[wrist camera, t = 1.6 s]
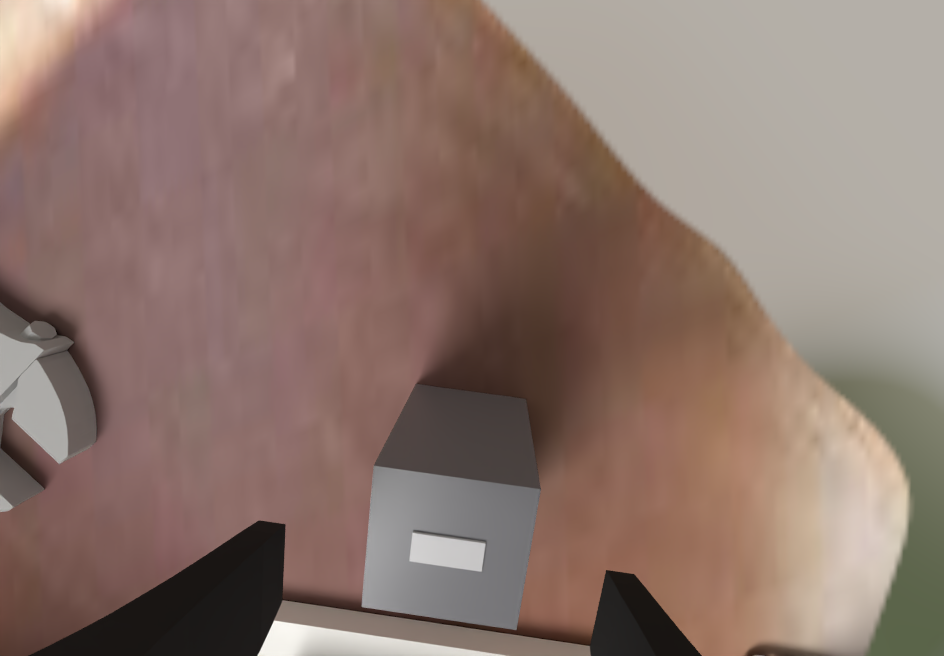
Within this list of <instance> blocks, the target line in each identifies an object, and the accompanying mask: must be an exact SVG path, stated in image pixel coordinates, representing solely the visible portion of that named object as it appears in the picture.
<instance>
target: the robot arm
mask: <svg viewBox="0 0 944 656" xmlns="http://www.w3.org/2000/svg"><path fill="white" fill-rule="evenodd" d="M284 548H285V524H279V523H272V522H265V521H257V522H256V523H254V524H253V525H251V526H249V527H248V528H246V529H245V530H243V531H242V532H240V533H239V534H237V535H236V536H234V537H233V538H231V539H230V540H228V541H227V542H225V543H224V544H222V545H221V546H219V547H218V548H216V549H215V550H213V551H212V552H210V553H209V554H207V555H206V556H204V557H203V558H201V559H199V560H198V561H196V562H195V563H193V564H192V565H190V566H189V567H187V568H186V569H184V570H182V571H181V572H179V573H178V574H176V575H175V576H173V577H172V578H170V579H168V580H167V581H165V582H163V583H162V584H160V585H158V586H157V587H155V588H153V589H151V590H150V591H148V592H146V593H145V594H143V595H141V596H140V597H138V598H136V599H135V600H133V601H131V602H130V603H128V604H126V605H125V606H123V607H121V608H120V609H118V610H116V611H114V612H113V613H111V614H109V615H107V616H105V617H104V618H102V619H100V620H98V621H96V622H94V623H92V624H91V625H89V626H87V627H85V628H83V629H81V630H79V631H77V632H75V633H73V634H71V635H69V636H67V637H65V638H64V639H62V640H60V641H58V642H56V643H54V644H52V645H50V646H48V647H46V648H44V649H42V650H40V651H37V652H35V653H33V654H31V655H29V656H257V655H258V654H259V652H260V650H261V648H262V646H263V644H264V641H265V639H266V637H267V635H268V633H269V631H270V629H271V626H272V624H273V622H274V619H275V617H276V615H277V613H278V610H279V608H280V606H281V603H282V595H283V571H284ZM590 653H591V656H702V655H701V654H700V653H699V652H698V651H697V650H696V648H695V647H694V646H693V645H692V644H691V643H690V641H689V640H688V639H687V638H686V637H685V635H684V634H683V633H682V632H681V631H680V630H679V628H678V627H677V626H676V625H675V623H674V622H673V621H672V620H671V619H670V617H669V616H668V615H667V614H666V613H665V611H664V610H663V609H662V608H661V606H660V605H659V604H658V603H657V601H656V600H655V599H654V598H653V597H652V595H651V594H650V593H649V592H648V590H647V589H646V588H645V587H644V585H643V584H642V583H641V582H640V581H639V579H638V578H637V577H636V576H635V575H634V574H629V573H622V572H615V571H608V570H606V574H605V579H604V583H603V588H602V592H601V597H600V602H599V606H598V611H597V616H596V620H595V625H594V630H593V634H592V639H591V644H590ZM754 656H763V655H754Z"/></svg>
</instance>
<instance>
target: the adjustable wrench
mask: <svg viewBox="0 0 944 656" xmlns="http://www.w3.org/2000/svg"><path fill="white" fill-rule="evenodd" d="M73 343H74V342H73V341H72V340H70V339H69V338H67V337H66V336H59V335H57V333H56V330H55V328H54V327H53V326H51V325H50V324H48V323H46V322H43V321H34V322H32V323H31V324H30V323H28V322H27V321H25V320H24V319H22V318H21V317H20V316H18V315H17V314H15V313H14V312H12V311H11V310H9V309H8V308H6V307H5V306H4V305H3V304H2V303H0V446H1V438H2V429H3V420H4V414H5V413H6V412H7V411H8V410H9V409H10V408H11V407H14V411H13V415H12V420H13V421H14V422H15V423H17V424H18V425H19V426H20V427H21V428H22V429H23V430H24V431H25V432H26V433H27V434H28V435H29V436H30V437H31V438H32V439H33V440H34V441H36V442H37V443H38V444H39V445H40V446H41V447H42V448H43V449H44V450H45V451H46V452H47V453H48V454H49V455H50V456H51V457H52V458H53V459H55V460H56V461H57V462H58V463H59V464H60V463H62V462H64V461H66V460H68V459H70V458H72V457H74V456H76V455H77V454H79V453H81V452H83V451H85V450H87V449H89V448H90V447H91V446H92V445H93V444H94V443H95V442H96V433H97V426H96V414H95V409H94V404H93V400H92V397H91V394H90V391H89V388H88V386H87V384H86V382H85V380H84V378H83V376H82V374H81V372H80V370H79V368H78V366H77V365H76V363H75V361H74V360H73V358H72V356H71V355H70V354H69V352H68V351H67V350H68V348H69V347H70V346H71V345H72V344H73ZM43 490H45V489H44V488H43V487H42V486H41V485H40V484H39V483H38V482H37V481H36V480H34V479H33V478H32V477H31V476H30V475H29V474H28V473H27V472H26V471H25V470H24V469H23V468H21V467H20V466H19V465H18V464H17V463H16V462H15V461H14V460H13V459H12V458H11V457H9V456H8V455H7V454H6V453H5V452H4V451H3V450H2V449H1V448H0V512H4V511H8V510H10V509H12V508H14V507H15V506H17V505H19V504H21V503H22V502H24V501H26V500H28V499H29V498H31V497H33V496H35V495H36V494H38V493H40V492H42V491H43Z"/></svg>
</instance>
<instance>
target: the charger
mask: <svg viewBox="0 0 944 656" xmlns="http://www.w3.org/2000/svg"><path fill="white" fill-rule="evenodd" d="M540 491H541V488H540V482H539V476H538V469H537V463H536V457H535V451H534V445H533V439H532V433H531V427H530V421H529V414H528V408H527V402H526V399H523V398H516V397H509V396H501V395H494V394H487V393H479V392H472V391H465V390H457V389H450V388H443V387H435V386H428V385H421V384H416V385H415V387H414V389H413V391H412V393H411V395H410V397H409V399H408V400H407V402H406V404H405V406H404V408H403V410H402V412H401V414H400V416H399V418H398V420H397V422H396V424H395V426H394V428H393V429H392V431H391V433H390V435H389V437H388V439H387V441H386V443H385V445H384V447H383V449H382V451H381V453H380V455H379V457H378V459H377V460H376V462H375V464H374V469H373V480H372V492H371V503H370V515H369V527H368V538H367V550H366V561H365V573H364V584H363V596H362V607H365V608H371V609H378V610H385V611H392V612H398V613H405V614H412V615H418V616H425V617H432V618H439V619H445V620H452V621H459V622H466V623H472V624H479V625H486V626H492V627H499V628H506V629H513V630H517V624H518V618H519V612H520V607H521V601H522V595H523V589H524V583H525V578H526V572H527V566H528V560H529V555H530V549H531V543H532V537H533V531H534V526H535V520H536V514H537V508H538V502H539V497H540Z"/></svg>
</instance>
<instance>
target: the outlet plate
mask: <svg viewBox="0 0 944 656" xmlns="http://www.w3.org/2000/svg"><path fill="white" fill-rule="evenodd" d="M257 656H591V653H590V646H586V645H579V644H573V643H566V642H559V641H552V640H546V639H539V638H532V637H526V636H519V635H512V634H506V633H499V632H492V631H485V630H479V629H472V628H465V627H459V626H452V625H445V624H439V623H432V622H425V621H418V620H412V619H405V618H398V617H392V616H385V615H378V614H372V613H365V612H358V611H351V610H345V609H338V608H331V607H325V606H318V605H311V604H305V603H298V602H291V601H285V600H282V603H281V606H280V608H279V610H278V613H277V615H276V617H275V619H274V622H273V624H272V626H271V629H270V631H269V633H268V635H267V637H266V639H265V641H264V644H263V646H262V648H261V650H260V652H259V654H258V655H257Z"/></svg>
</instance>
